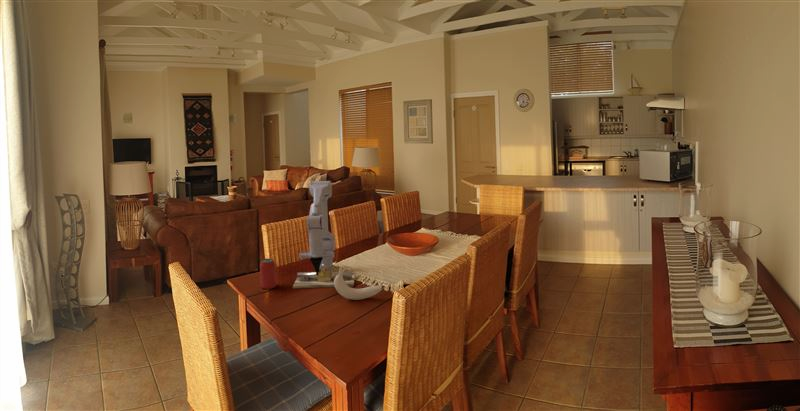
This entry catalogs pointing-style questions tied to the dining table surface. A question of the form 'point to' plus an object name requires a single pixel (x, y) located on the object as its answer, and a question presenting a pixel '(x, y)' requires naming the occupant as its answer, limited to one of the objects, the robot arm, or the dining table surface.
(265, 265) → the beer can
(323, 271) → the lever
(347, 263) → the dining table surface
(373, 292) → the banana
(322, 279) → the valve
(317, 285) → the valve board
